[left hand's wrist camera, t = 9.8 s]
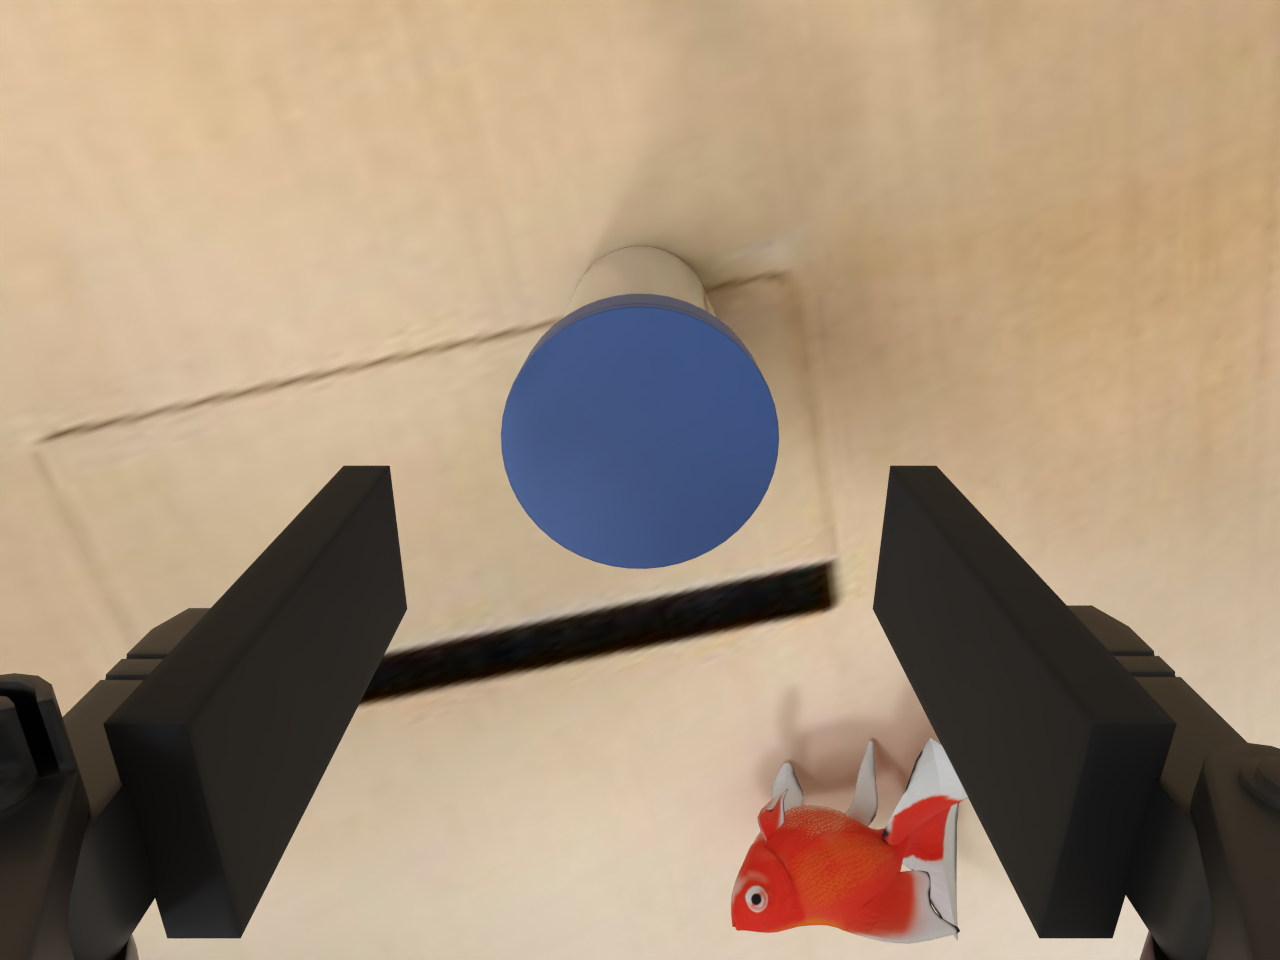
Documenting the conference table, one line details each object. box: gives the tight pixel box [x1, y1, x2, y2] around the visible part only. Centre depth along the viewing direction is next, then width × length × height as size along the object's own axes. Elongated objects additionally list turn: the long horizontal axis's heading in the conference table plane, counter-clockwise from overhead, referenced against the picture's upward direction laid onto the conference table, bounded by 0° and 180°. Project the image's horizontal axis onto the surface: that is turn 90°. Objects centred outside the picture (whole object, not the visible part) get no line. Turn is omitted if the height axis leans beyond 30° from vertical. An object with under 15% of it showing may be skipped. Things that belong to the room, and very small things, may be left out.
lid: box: [501, 294, 779, 569], centre depth 19 cm, size 6×6×2 cm
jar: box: [563, 246, 717, 318], centre depth 26 cm, size 5×5×15 cm
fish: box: [731, 738, 968, 944], centre depth 37 cm, size 11×16×10 cm
